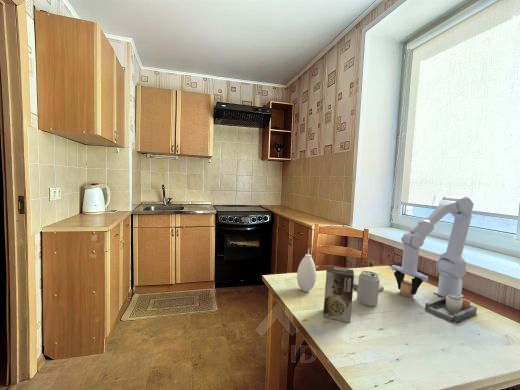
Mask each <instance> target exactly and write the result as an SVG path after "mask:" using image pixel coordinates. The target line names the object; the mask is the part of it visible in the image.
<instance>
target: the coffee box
mask: <svg viewBox="0 0 520 390" xmlns="http://www.w3.org/2000/svg"><path fill="white" fill-rule="evenodd" d="M354 274H355V271H354V269H349V268H343V267H337V266H330V265H328V266H327V267H326V272H325V286H324V300H323V313H322V318H327V319H331V320H335V321H336V320H337V321H341V322H345V323H350V324H351V320H352V319H351V318H352V305H353V297H354V296H353V293H354V288H353V283H354Z"/></svg>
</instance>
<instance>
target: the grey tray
mask: <svg viewBox="0 0 520 390" xmlns="http://www.w3.org/2000/svg"><path fill="white" fill-rule="evenodd" d="M445 304H446V296H444V297H443V296H442V297H439V298H435V299H434V300H433V299H432V300H431V301H428V302H425V307H424V309H425V310H426V311H427V312H428V313H431V314H434V315H435V316H437V317H440V318H442V319H445V320H447V321H449V322H451V323H454V324H458V323H460V322H462V321H464V320H467V319H468V318H471V317H472V316H475V315H477V311H478V307H477V306H476V305H472V304H470V308H468V309H465V310H463V311H462V310H461V312H459V313H456V314H455V313H453V316H452V315H449V314H447V313H445V312H443V311H440V310H437V308H439V307H441V306H445Z"/></svg>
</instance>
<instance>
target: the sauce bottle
mask: <svg viewBox="0 0 520 390" xmlns="http://www.w3.org/2000/svg"><path fill="white" fill-rule="evenodd" d="M298 265H299V266H298V268H297V273H296V279H297V280H296V282H297V284H298V287H299V289H301V291H303V292H305V293H307V292H310V291H311V290H312V289H313V288H314V286H315V285H316V281H317V270H316V265H315V262H314V259H313V258H312V255H311V254H310V248H308V250H307V254H306V253H305V255H304V257H303V258H302V259H301V261H300V262H299V264H298Z"/></svg>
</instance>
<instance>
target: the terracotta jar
mask: <svg viewBox="0 0 520 390" xmlns="http://www.w3.org/2000/svg"><path fill="white" fill-rule="evenodd" d="M399 294H400V295H401V296H403V297H406V298H414V295H412V281H410V280H406V279H404V280H403V281H401V288H400V289H399Z"/></svg>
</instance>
